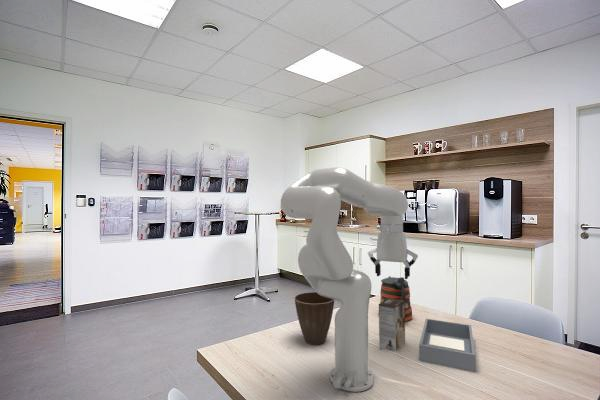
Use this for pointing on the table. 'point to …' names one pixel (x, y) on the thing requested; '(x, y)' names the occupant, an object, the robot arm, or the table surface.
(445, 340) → the cream rectangular block
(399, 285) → the beer stein
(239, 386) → the table surface
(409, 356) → the table surface
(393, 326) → the coffee box
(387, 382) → the table surface
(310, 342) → the plant pot
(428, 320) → the tote
